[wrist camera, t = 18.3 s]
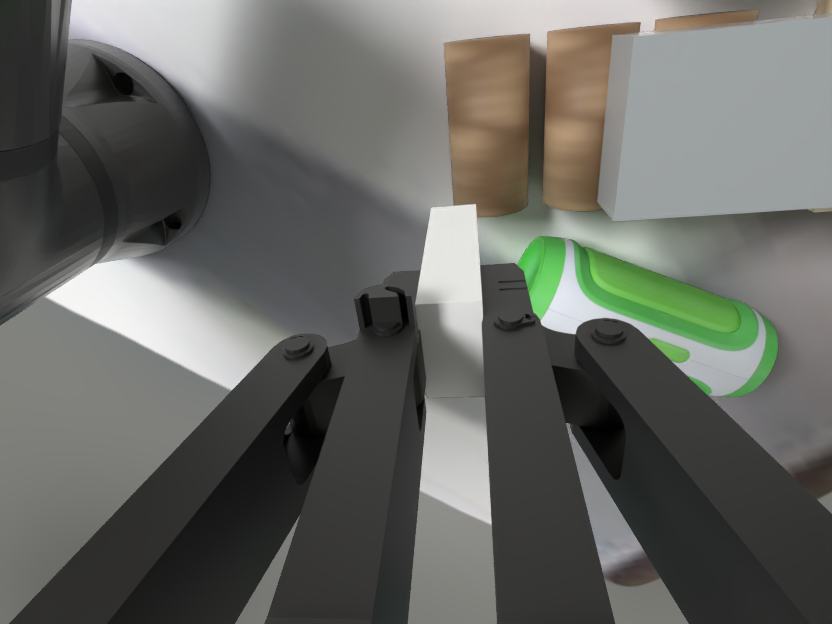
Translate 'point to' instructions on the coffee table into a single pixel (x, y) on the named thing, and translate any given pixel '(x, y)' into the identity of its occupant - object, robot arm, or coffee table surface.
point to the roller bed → (509, 113)
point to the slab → (719, 120)
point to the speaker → (652, 313)
